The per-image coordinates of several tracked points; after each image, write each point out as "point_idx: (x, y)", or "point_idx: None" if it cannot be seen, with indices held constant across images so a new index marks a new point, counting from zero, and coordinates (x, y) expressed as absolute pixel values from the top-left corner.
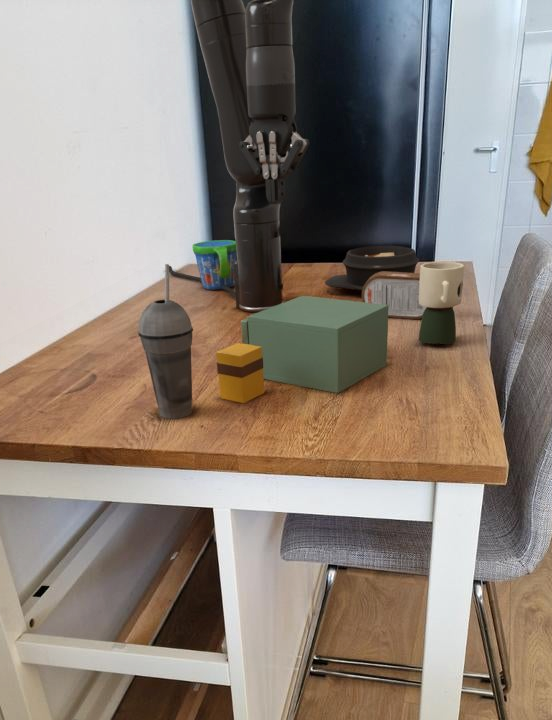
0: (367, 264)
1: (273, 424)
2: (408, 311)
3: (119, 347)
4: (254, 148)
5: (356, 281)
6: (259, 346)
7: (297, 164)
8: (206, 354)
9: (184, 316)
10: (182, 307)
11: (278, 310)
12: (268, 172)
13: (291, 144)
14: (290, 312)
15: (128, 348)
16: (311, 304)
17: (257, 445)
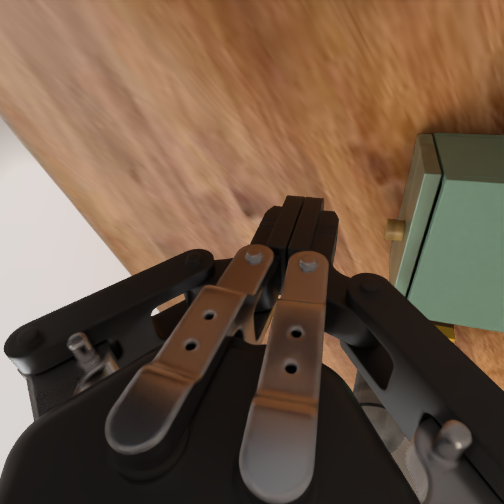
0: None
1: (496, 351)
2: None
3: (162, 215)
4: (116, 364)
5: None
6: (451, 339)
7: (422, 321)
8: (282, 202)
9: (402, 438)
10: (391, 437)
11: (442, 284)
12: (270, 318)
13: (413, 470)
14: (472, 290)
15: (174, 215)
16: (498, 239)
17: (497, 382)
